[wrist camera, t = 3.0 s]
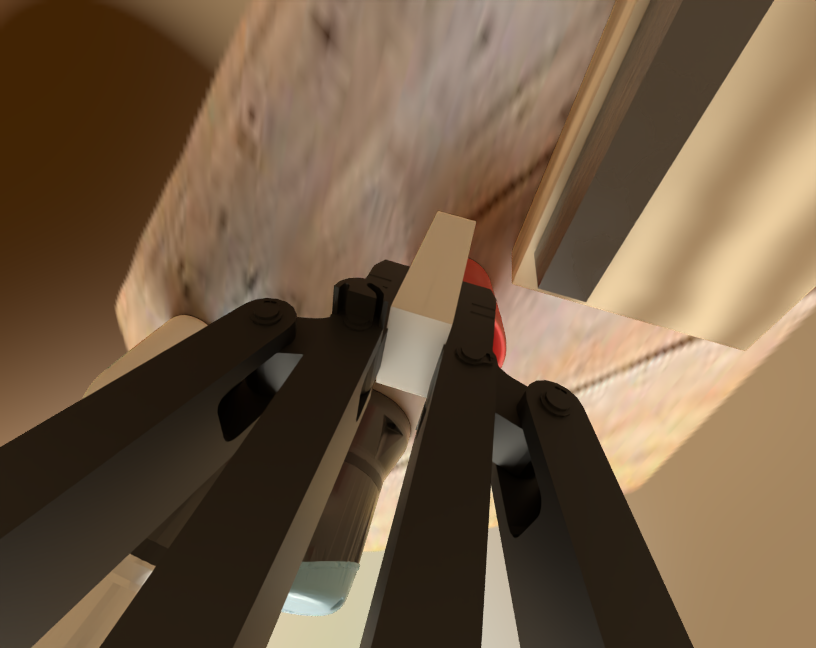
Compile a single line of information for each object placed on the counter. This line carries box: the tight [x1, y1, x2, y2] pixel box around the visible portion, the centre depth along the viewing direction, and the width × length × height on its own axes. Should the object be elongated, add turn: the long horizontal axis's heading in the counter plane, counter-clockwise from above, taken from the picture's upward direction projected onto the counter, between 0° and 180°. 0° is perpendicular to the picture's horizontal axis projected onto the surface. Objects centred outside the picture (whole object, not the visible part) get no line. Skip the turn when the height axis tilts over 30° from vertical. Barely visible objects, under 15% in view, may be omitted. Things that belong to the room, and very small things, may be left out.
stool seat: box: [512, 0, 816, 351], centre depth 23 cm, size 18×23×6 cm
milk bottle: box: [82, 315, 208, 399], centre depth 42 cm, size 8×8×20 cm
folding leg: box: [534, 0, 774, 302], centre depth 18 cm, size 18×4×5 cm, turn 170°
